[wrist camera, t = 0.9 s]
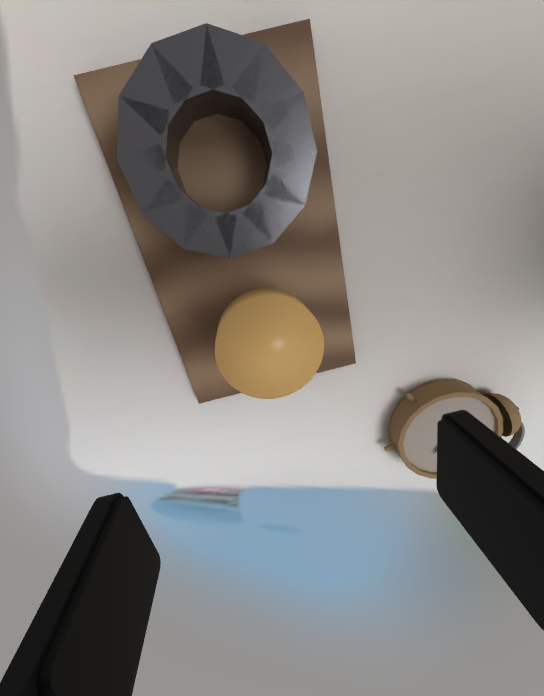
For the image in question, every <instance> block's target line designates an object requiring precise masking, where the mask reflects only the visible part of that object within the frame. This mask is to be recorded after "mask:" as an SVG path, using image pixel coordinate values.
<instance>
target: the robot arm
mask: <svg viewBox="0 0 544 696" xmlns="http://www.w3.org/2000/svg"><path fill="white" fill-rule="evenodd" d="M437 490H438V492H439V495H440V496H441V498H442V499H443V501H444V502H445V503H446V505H447V506H448V507H449V509H450V510H451V511H452V513H453V514H454V515H455V517H456V518H457V519H458V520H459V521H460V523H461V524H462V526H463V527H464V528H465V530H466V531H467V532H468V534H469V535H470V536H471V537H472V539H473V540H474V541H475V543H476V544H477V545H478V547H479V548H480V549H481V551H482V552H483V553H484V554H485V556H486V557H487V558H488V560H489V561H490V562H491V564H492V565H493V566H494V567H495V569H496V570H497V572H498V573H499V574H500V575H501V577H502V578H503V579H504V581H505V582H506V583H507V585H508V586H509V587H510V588H511V590H512V591H513V592H514V594H515V595H516V596H517V598H518V599H519V600H520V602H521V603H522V604H523V606H524V607H525V608H526V610H527V611H528V612H529V613H530V615H531V616H532V617H533V619H534V620H535V621H536V623H537V624H538V625H539V626H540V627H541V628H542V629H543V630H544V471H543V470H541V469H540V468H539V467H538V466H536V465H535V464H534V463H533V462H531V461H530V460H529V459H527V458H526V457H525V456H524V455H522V454H521V453H520V452H519V451H517V450H516V449H515V448H514V447H512V446H511V445H510V444H508V443H507V442H506V441H505V440H503V439H502V438H501V437H500V436H498V435H497V434H496V433H494V432H493V431H492V430H491V429H489V428H488V427H487V426H486V425H484V424H483V423H482V422H480V421H479V420H478V419H477V418H475V417H474V416H473V415H472V414H470V413H469V412H468V411H466V410H459V411H455V412H451V413H446V414H443V416H442V419H441V420H440V421H438V424H437ZM159 571H160V556H159V553H158V552H157V550H156V548H155V546H154V544H153V542H152V540H151V538H150V537H149V535H148V533H147V531H146V529H145V527H144V525H143V524H142V522H141V520H140V518H139V516H138V514H137V512H136V510H135V508H134V507H133V505H132V503H131V501H130V499H129V498H128V497H127V496H126V497H124V496H123V495H122V494H120V493H115V494H112V495H107V496H104V497H99V498H97V499H96V501H95V502H94V504H93V505H92V507H91V509H90V511H89V513H88V515H87V517H86V519H85V521H84V523H83V525H82V526H81V528H80V530H79V532H78V534H77V536H76V538H75V540H74V542H73V544H72V546H71V548H70V550H69V552H68V553H67V555H66V558H65V559H64V561H63V563H62V565H61V567H60V569H59V571H58V573H57V575H56V577H55V578H54V581H53V582H52V584H51V586H50V588H49V590H48V592H47V594H46V596H45V598H44V600H43V602H42V603H41V605H40V607H39V610H38V611H37V613H36V615H35V617H34V619H33V621H32V623H31V625H30V627H29V629H28V630H27V632H26V634H25V637H24V638H23V640H22V642H21V644H20V646H19V648H18V650H17V652H16V654H15V655H14V658H13V659H12V661H11V663H10V665H9V667H8V669H7V671H6V673H5V675H4V677H3V679H2V681H1V683H0V696H132V692H133V687H134V682H135V678H136V674H137V669H138V665H139V660H140V656H141V651H142V647H143V642H144V638H145V633H146V629H147V625H148V620H149V616H150V611H151V607H152V602H153V598H154V593H155V589H156V584H157V580H158V575H159Z"/></svg>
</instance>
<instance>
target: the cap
mask: <svg viewBox="0 0 544 696" xmlns="http://www.w3.org/2000/svg"><path fill="white" fill-rule="evenodd" d="M323 354H324V337H323V333H322V330H321V327H320V325H319V323H318V321H317V320H316V318H315V317H314V315H313V314H312V313H311V312H310V311H309V310H308V309H307V307H306V306H305V305H304V304H303V303H302V302H301V301H300V300H299V299H298V298H296V297H295V296H293V295H292V294H290V293H288V292H286V291H283V290H280V289H275V288H260V289H255V290H251V291H248V292H246V293H244V294H242V295H240V296H239V297H237V298H236V299H235V300H233V301H232V302H231V303H230V304H229V305H228V307H227V308H226V309H225V311H224V313H223V314H222V316H221V319H220V321H219V325H218V330H217V335H216V341H215V358H216V363H217V366H218V368H219V370H220V372H221V374H222V376H223V377H224V378H225V380H226V381H227V382H228V383H229V384H230V385H231V386H232V387H234V388H235V389H236V390H238V391H240V392H241V393H243V394H246V395H248V396H252V397H256V398H263V399H271V398H279V397H283V396H286V395H289V394H291V393H293V392H295V391H297V390H299V389H300V388H302V387H303V386H304V385H306V384H307V383H308V382H309V381H310V380H311V379H312V377H313V376H314V375H315V373H316V372H317V370H318V368H319V366H320V364H321V361H322V358H323Z"/></svg>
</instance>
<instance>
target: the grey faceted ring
mask: <svg viewBox="0 0 544 696" xmlns="http://www.w3.org/2000/svg"><path fill="white" fill-rule="evenodd" d="M214 114H221V115H224V116H228V117H231V118H235V119H238V120H241V121H242V122H243V123H244V124H245V125H246V126H247V127H248V128H249V129H250V130H251V132H252V133H253V134H254V135H255V136H256V137H257V138H258V139H259V141H260V144H261V148H262V151H263V155H264V158H265V162H266V165H267V166H266V172H265V177H264V183H263V188H262V190H261V191H260V193H259V194H258V195H257V196H256V198H255V199H254V200H253V201H252V203H251V204H250V205H248V206H245V207H242V208H239V209H236V210H233V211H231V212H228V213H222V212H218V211H214V210H209V209H205V208H202V207H201V206H200V205H199V204H198V203H196V202H195V201H194V200H193V199H192V198H191V197H190V196H189V195H188V194H187V192H186V190H185V187H184V185H183V182H182V180H181V177H180V174H179V172H178V157H179V146H180V142H181V140H182V139H183V137H184V136H185V134H186V133H187V132H188V130H189V129H190V127H191V126H192V124H193V123H194V122H195V121H198V120H201V119H203V118H206V117H209V116H212V115H214ZM316 155H317V149H316V144H315V140H314V136H313V131H312V127H311V122H310V118H309V113H308V109H307V104H306V100H305V95H304V92H303V90H302V89H301V88H300V87H299V85H298V84H297V83H296V82H295V80H294V79H293V78H292V77H291V76H290V74H289V73H288V72H287V71H286V69H285V68H284V67H283V66H282V65H281V63H280V62H279V61H278V60H277V58H276V57H275V56H274V55H273V53H272V52H271V51H270V50H269V49H268V47H267V46H266V45H265V44H264V43H263V42H260V41H257V40H254V39H251V38H248V37H245V36H243V35H240V34H237V33H234V32H231V31H228V30H225V29H222V28H219V27H216V26H213V25H210V24H203V25H200V26H198V27H195V28H192V29H189V30H187V31H184V32H181V33H179V34H176V35H173V36H170V37H168V38H165V39H162V40H159V41H157V42H154V43H152V44H151V45H150V46H149V48H148V50H147V51H146V53H145V54H144V56H143V58H142V59H141V61H140V62H139V64H138V66H137V67H136V69H135V70H134V72H133V74H132V75H131V77H130V78H129V80H128V82H127V83H126V85H125V86H124V88H123V90H122V91H121V93H120V94H119V102H118V139H117V160H118V163H119V165H120V167H121V169H122V171H123V174H124V176H125V178H126V180H127V182H128V185H129V187H130V189H131V191H132V193H133V196H134V198H135V200H136V202H137V204H138V207H139V209H140V211H141V213H142V215H144V216H145V217H146V218H147V219H148V220H149V221H151V222H152V223H153V224H154V225H155V226H157V227H158V228H159V229H160V230H161V231H163V232H164V233H165V234H166V235H167V236H169V237H170V238H171V239H172V240H173V241H175V242H176V243H177V244H178V245H179V246H181V247H182V248H183V249H187V250H192V251H197V252H201V253H206V254H211V255H216V256H221V257H226V258H233V257H236V256H238V255H241V254H244V253H247V252H250V251H253V250H255V249H258V248H261V247H264V246H267V245H270V244H273V243H274V242H275V241H276V240H277V238H278V237H279V236H280V235H281V234H282V232H283V231H284V230H285V229H286V228H287V226H288V225H289V224H290V223H291V222H292V221H293V219H294V218H295V217H296V216H297V215H298V213H299V212H300V211H301V210H302V209H303V207H304V206H305V203H306V199H307V194H308V190H309V186H310V181H311V177H312V172H313V168H314V163H315V159H316Z"/></svg>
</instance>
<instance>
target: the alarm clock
mask: <svg viewBox="0 0 544 696" xmlns="http://www.w3.org/2000/svg"><path fill="white" fill-rule="evenodd" d="M459 410H466V411H468V412H469V413H470V414H472V415H473V416H474V417H475V418H477V419H478V420H479V421H480V422H482V423H483V424H484V425H486V426H487V427H488V428H489V429H491V430H492V431H493V432H494V433H496V434H497V435H498V436H500V437H502V436H505V437H506V436H510V435H513V434H514V436H513V438H512V439H511V441H510V442H509V443H508V444H510V445H511V446H512V447H514V448H515V449H517V448H518V447H519V445H520V444H521V442H522V440H523V437H524V433H525V430H524V426H523V423H522V422H521V416H520V413H519V411H518V410H519V408H518V407H516V406H515V404H514V403H513V402H512V401H511V400H509V399H508V398H507V397H505V396H503V395H500V394H486V395H484V396H483V395H482V394H481V393H479V392H478V391H476V390H475V389H474V388H473V387H472V386H470V385H469V384H468V383H465V382H462V381H459V380H456V379H437V380H433V381H429V382H426V383H423V384H422V385H420V386H418V387H417V388H415V389H413V390H412V391H410V392H409V393H408V392H406V393H405V397H404V398H403V399H402V400H401V401H400V402H399V403H398V405H397V406H396V408H395V410H394V412H393V413H392V415H391V418H390V423H389V428H388V430H389V436H390V441H391V442H392V444H389V445H387V446H385V447H384V449H385V450H393V449H396V450H397V451H398V453H399V455H400V457H401V459H402V460H403V462H404V463H405V465H406V466H407V467H408V468H409V469H410V470H412V471H413V472H415V473H416V474H418V475H421V476H425V477H428V478H437V424H438V421H440V420H441V419H442V416H443V414H446V413H451V412H455V411H459Z"/></svg>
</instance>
